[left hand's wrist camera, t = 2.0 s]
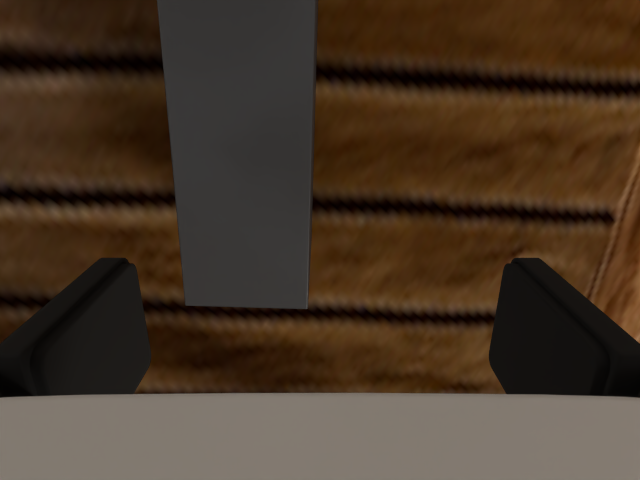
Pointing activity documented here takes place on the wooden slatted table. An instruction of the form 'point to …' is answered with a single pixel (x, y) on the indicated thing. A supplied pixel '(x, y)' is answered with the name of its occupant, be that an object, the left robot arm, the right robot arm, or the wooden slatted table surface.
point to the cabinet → (242, 146)
